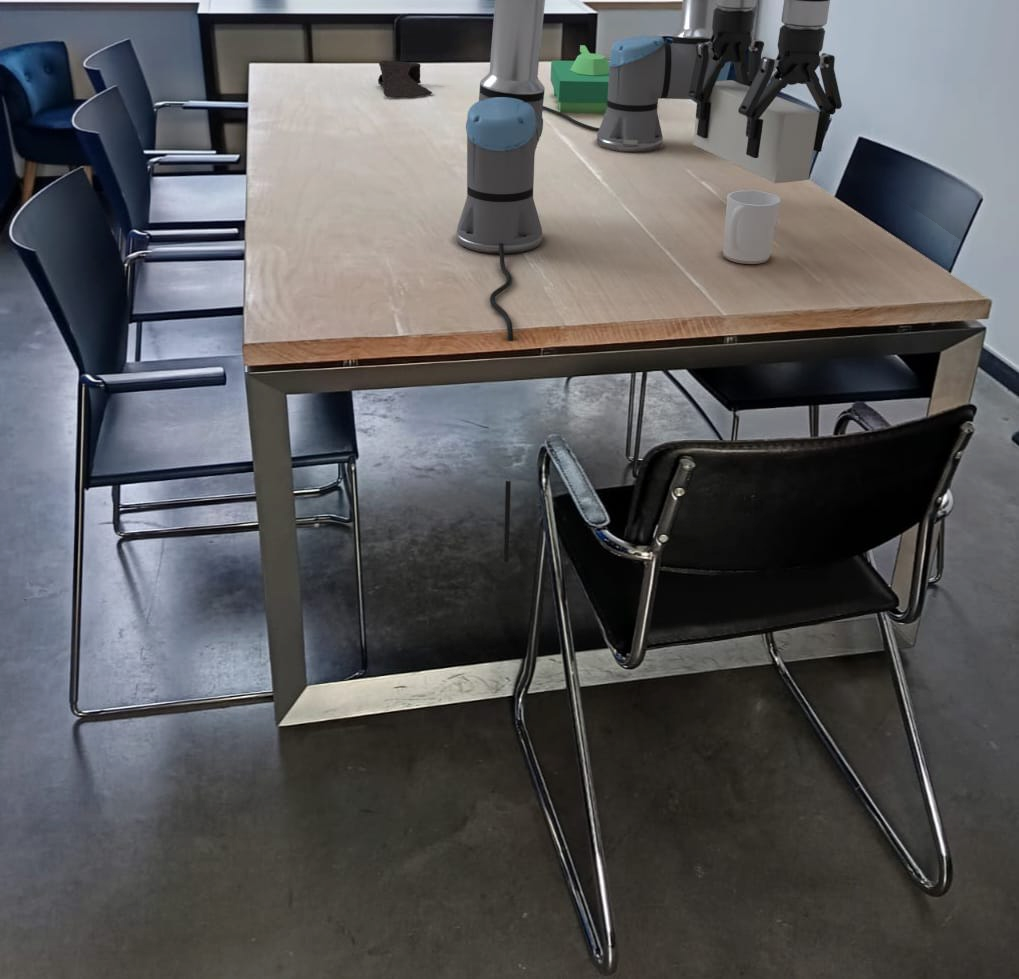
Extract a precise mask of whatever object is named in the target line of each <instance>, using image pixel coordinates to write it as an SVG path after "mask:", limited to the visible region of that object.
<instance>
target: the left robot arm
mask: <svg viewBox="0 0 1019 979" xmlns="http://www.w3.org/2000/svg"><path fill="white" fill-rule="evenodd" d="M830 3H831V0H783V6H782V13H781V23H782V24H783V25H781V27H779V33H778V38H777V51H778V53H777V57H776V58H770V57H767V56H761V62H760V66H759V71H758V72H757V74H756V76H755V78H754V80H753V82H752V84H751V86H750V88H749V90H748V92H747V94H746V96H745V98H744V100H743V102H742V103H741V105H740V107H739V110H738V112H739V113H740V114H742V115H745V116H746V117H747V126H746V137H748V143H747V151H746V155H749V156H751V157H753V158H758V155H759V148H760V141H761V134H762V127H763V120H762V119H760V117H761V115H762V114H763V113H764V111H765V110H766V109H767V108H768V106H769V105H770V104H771V103H772V101H773V100H774V99H775V97H778V95H779V93H780V92H781V91H782V90H783V89H785V88H786V87H787V86H788V85H789V86H794V85H797V84H800V85H806V87H807V90H808V92H809V93H810V95H811V97H812V99H813V101H814V103H815V104H816V106H817V108H818V110H816V111H817V112H819V118H818V124H817V130H816V136H815V142H814V148H813V152H814V151H815V152H817V153H821V152H822V151H823V150H822V149H823V144H824V137H825V132H827V131H828V129H829V124H830V118H831V115H834V114H835V113H836V111H837V110H840V109H841V108H842V106H843V103H842V99H841V94H840V89H839V86H838V80H837V76H836V72H835V71H836V70H835V59H836V57H835V56H834V55H833V54H830V53H826V52H822V50H823V48H824V47H823V46H824V41H825V35H826V29H825V28H824V26H826V25H827V23H828V18H829V11H830ZM545 6H546V0H494V10H493V22H492V37H491V48H490V60H489V72H488V74H486V75H485V76H484V77H483V78H482V79H481V80H480V81H479V94H478V101H476V102H475V103H473V104H472V105H471V106H470V107H469V109H468V111H467V117H466V118H467V119H466V122H465V131H466V192H467V193H466V198H465V202H464V205H463V209H462V211H461V214H460V218H459V220H458V224H457V228H456V241H457V243H458V244H459V245H461V246H462V247H464V248H466V249H468V250H470V251H475V252H479V253H486V254H497V255H499V266H500V269H501V271H502V273H503V274H504V276H505V277H506V281H505V283H504V284H502V285H501V286H500V287H498V288H496V289H495V290H493V291H492V293H491V294H490V296H489V302H490V305H491V306H492V307H493V308H494V309H495V310H496V312H498V313H499V314H500V315H501V316H502V317H503V319H504V321H505V323H506V329H507V341H509V342H513V341H514V329H513V322H512V320H511V317H510V316H509V315H508V313H507V311H506V310H505V309H504V308H502V307H501V306H500V305H499V304H498V303H497V301H496V299H495V298H496V297H497V296H498V295H499V294H500V293H502V292H503V291H505V290H507V289H508V288H509V287H510V285H511V283H512V275H511V274H510V272H509V271H508V268H507V267H506V262H505V255H506V254H507V255H508V254H517V253H524V252H527V251H530V250H533V249H536V248H538V247H539V246H540V245H541V244H542V243H543V229H542V224H541V221H540V220H541V219H540V218H539V214H538V213H539V212H538V210H537V206H536V204H535V199H534V183H535V181H534V180H535V158H536V156H535V155H536V149H537V146H538V144H539V141H540V138H542V133H543V129H544V118H543V111H544V110H543V106H544V102H545V101H544V100H545V99H544V98H545V86H544V84H543V82H541V80H540V79H539V77H538V75H539V65H540V57H541V56H540V55H541V47H542V46H541V45H542V35H543V25H544V16H545ZM820 52H822V53H821V54H820ZM818 67H819V71H820V76H821V80H822V84H823V87H822V84H821V83H820V78H819V76H818V74H817V73H816V71H817V69H818ZM773 72H774V74H773ZM511 483H512V482H511V480H506V481H505V490H504V492H505V493H504V494H505V496H504V535H503V536H504V539H503V540H504V542H503V545H504V546H503V562H504V563H509V562H510V526H511V525H510V524H511V487H512V486H511V485H512V484H511Z"/></svg>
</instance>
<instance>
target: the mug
mask: <svg viewBox="0 0 1019 979" xmlns="http://www.w3.org/2000/svg"><path fill="white" fill-rule="evenodd" d="M781 201H782V199H781V197H779V196H778V195H776V194H774V193H771V192H766V191H762V190H753V189H752V190H751V189H745V190H744V189H741V190H735V191H732V192H729V193H728V194H727V196H726V208H725V219H724V220H725V221H724V233H723V247H722V255H723V258H725V259H726V260H728V261H730V262H733V263H737V264H743V265H744V264H745V265H759V264H763V263H766V262H767V261H768V260H770V257H771V251H772V247H773V241H774V238H775V232H776V226H777V221H778V216H779V211H780V207H781Z"/></svg>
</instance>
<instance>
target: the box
mask: <svg viewBox="0 0 1019 979" xmlns="http://www.w3.org/2000/svg"><path fill="white" fill-rule="evenodd" d="M749 88H750V87H749V86H746V85H743V84H740V83H737V81H735V80H734V79H733V80H732V79H729V80H728V79H727V80H726V81H716V83H715V85H714V87H713V89H712V92H711V95H710V97H709V99H708V102H710V103H711V111H710V119H709V128H708V137H707V138H702V137H700V136H698V135H697V129H698V119H697V118H696V117H695V124H694V133H693V142H692V145H693V146H696V147H698V148H700V149H702V150H704V151H706V152H708V153H710V154H712V155H714V156H717V157H719V158H721V159H723V160H725V161H727V162H729V163H731V164H732V165H735V166H737V167H739V168H741V169H743V170H746V171H748V172H750V173H752V174H754V175H755V176H758V177H760V178H763V179H764V180H767V181H768V182H771V183H773V184H783V183H793V182H801V181H809V179H810V174H811V173H810V171H811V166H812V160H813V153H814V150H813V148H814V142H815V136H816V130H817V124H818V118H819V112H820V111H819V112H817V111H818V110H814V109H811V108H809V107H806V106H803V105H801V104H798V103H795V102H792V101H789V100H787V99H784V98H782V97H779V96H776V97H775V99H774V100H773V101H772V103H771V104H770V105H769V106H768V108H767V109H766V110H765V111H764V113H763V114H762V115H761V117H760V119H762V120H763V127H762V134H761V141H760V148H759V155H758V158H753V157H751V156H749V155H746V151H747V143H748V137H746V126H747V117H746V116H745V115H742V114H740V113H739V112H738V110H739V107H740V105H741V103H742V102H743V100H744V98H745V96H746V94H747V92H748V90H749Z"/></svg>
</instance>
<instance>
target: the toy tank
mask: <svg viewBox="0 0 1019 979" xmlns="http://www.w3.org/2000/svg"><path fill="white" fill-rule="evenodd" d="M579 52H580V54H578V55H577V56H576V59H575V60H555V59H554V60H551V61H550V83H551V86H552V88H553V96H554V97H556V100H557V102H558V112H560V113H563V114H575V115H576V114H577V115H578V114H579V115H580V114H581V115H583V114H585V115H586V114H587V115H589V114H590V115H592V114H593V115H605V112H606V109H607V97H608V84H609V70H610V67H609V62H610V61H609V60H608V59H607V57H606V56H605V55H603V54H599V53H591V52H590V51H589V50H588V47H587V46H586V45H583V44H582V45H581V44H580V45H579Z"/></svg>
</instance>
